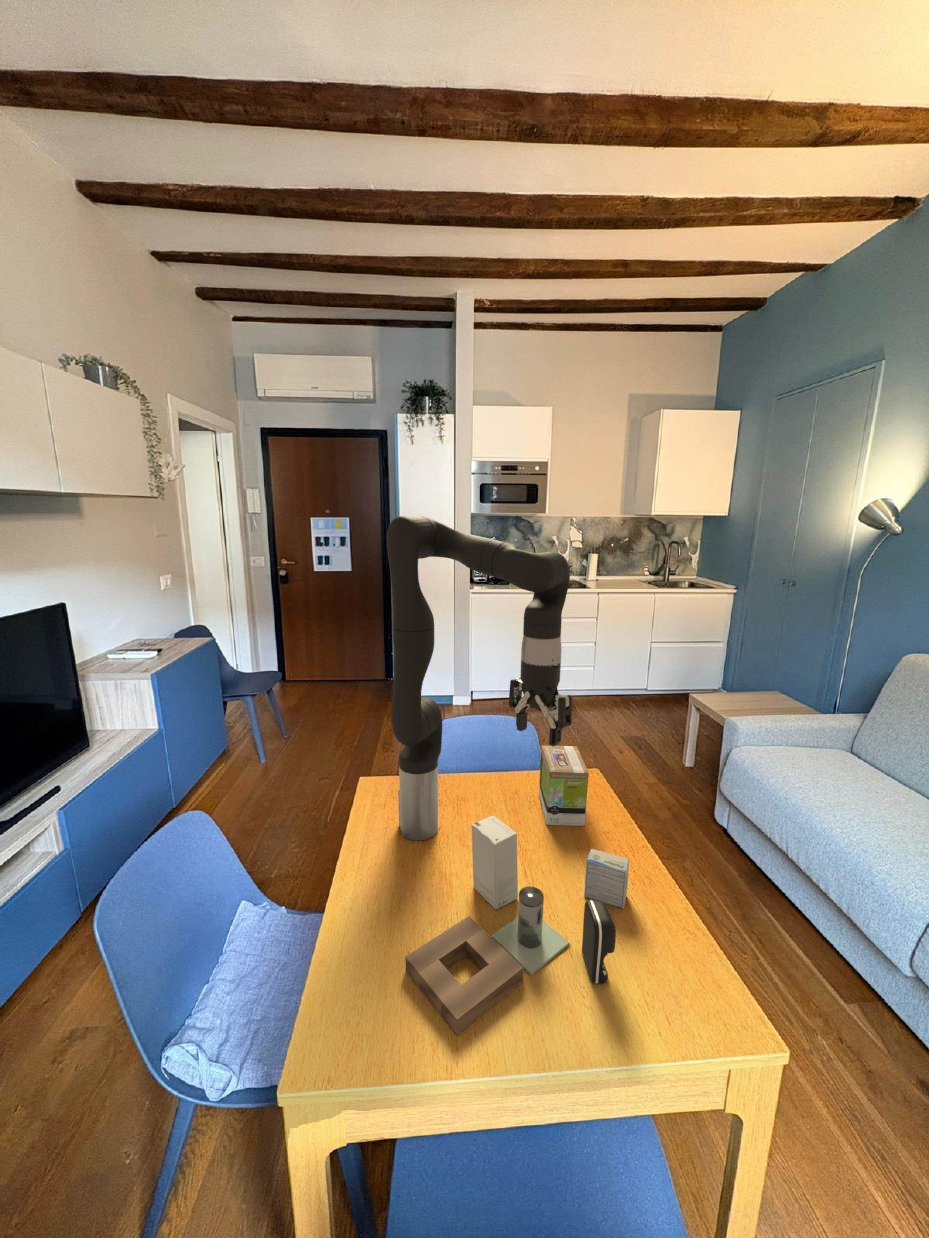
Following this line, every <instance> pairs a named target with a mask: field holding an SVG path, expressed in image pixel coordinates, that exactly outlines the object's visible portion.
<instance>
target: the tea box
mask: <svg viewBox="0 0 929 1238" xmlns="http://www.w3.org/2000/svg"><path fill="white" fill-rule="evenodd" d="M538 787H539V788H538V794H539V798H540V802H541V807H542V811H543V815H544V816H543V817H544V820H545V823H546V825H547V826H565V827H566V826H569V827H570V826H571V827H573V826H575V827H578V826H580V827H584V826H585V824H586V812H587V811H586V810H587V799H588V787H589V770H588V768H587V766H586V764H585V761H584V760H583V757H582V755H581V753H580V750H579V748H578V746H575V745H574V746H573V745H556V746H550V745H541V751H540V769H539V785H538Z"/></svg>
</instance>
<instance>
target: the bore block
mask: <svg viewBox="0 0 929 1238" xmlns="http://www.w3.org/2000/svg"><path fill="white" fill-rule="evenodd" d="M404 957H405V958H404V959H405V960H404V961H405V962H404V963H405V973H406V974H407V975H408V976H409V978H411V980H412V981H413V983H414V984H415V985H416V986H417V988H418V989H419V991H421V993H422V994H423V996H424V997H425V998H426V999H427V1000H428V1002H429V1003H430V1004H431V1006H432V1007H433V1008H434V1009H435V1010H436V1012H437V1013H438V1015H440V1016H441V1019H442V1020H444V1022H445V1023H446V1025H448V1026H449V1028H450V1029H451V1031H453V1033H454V1035H456V1037H458V1036H459V1035H460V1034H461V1033H462V1032H464V1031H465V1030H466V1029H468V1028H469V1027H470V1026H471V1025H473V1024H474V1023H475V1022H477V1021H478V1019H480V1018H481V1017H482V1016H484V1015H485V1014H486V1013H487V1012H488V1011H489V1010H491V1009H492V1008H493V1007H494V1006H496V1005H498V1003H499V1002H501V1001H502V1000H503V999H504V998H505V997H507V996H509V995H510V994H511V993H512V992H513V991H514V990H515V989H517V988H518V987H519V986H521V985H522V984H523V983H524V968H523V967H522V966H521V965H520V964H519V963H518V962H517V961H516V960H515V959H514V958H513V957H512V956H511V955H510V954H509V953H508V952H507V951H506V950H505V949H504V948H502V947H501V946H500V945H499V944H498V943H497V942H496V941H495V940H494V939H493V938H492V937H491V934H489V933H488V932H487V931H486V930H485V929H484V928H482V927H481V926H480V924H478V923H477V922H476V920H474V919H473V918H472V917H471V916H470V915H468V916H466V917H465V918H463V919H462V920H460V921H458V922H457V923H456V924H454V925H452V926H451V927H449V928H448V929H446V930H444V931H443V932H441V933H439V934H438V935H437V936H434V938H432V939H431V940H429V941H427V942H425V943H424V944H423V945H421V946H420V947H418V948H416V949H415V950H413V951H412V952H410V953H409V954H407V955H405V956H404ZM464 957H466V958H468V959H469V960H470V961H471V962H472V963H473V964H474V965H475V966H476V967H477V969H478V970H479V971H478V972H477V973H475V974H474V975H472V976H471V977H470V978H468V979H467V980H466V981H464V982H463V983H460V982H459V981H458V979H457V978H456V977H454V975H453V974H452V973H451V972H450V971H449V968H451V966H453V965H454V964H456V963H457V962H459V961H460V960H461V959H463V958H464Z"/></svg>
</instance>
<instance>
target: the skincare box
mask: <svg viewBox="0 0 929 1238" xmlns="http://www.w3.org/2000/svg"><path fill="white" fill-rule="evenodd" d="M517 836H518V833H517V832H516V831H515V830H513V829H511V828H510V826H508V825H507V824H506V823H504V822H503V821H502V820H500V819H499V818H498V817H496V816H495V815H490V816H488V817H485V818H483V819H481V820H479V821H477V822H474V823H472V824H471V842H472V843H471V845H472V878H473V879H472V881H473V883H472V884H473V886H472V887H473V888H474V889H475V890H476V891H477V892H478V893H479V894H480V895H481V896H482V897H483V898H484V899H485V900H486V901H487V903H489V904H490V905H491V906H492V907H493V909H494V910H499V909H500V908H502V907H504V906H506V905H508V904H511V903H512V902H514V901H516V900H518V899H519V885H518V882H519V881H518V837H517Z"/></svg>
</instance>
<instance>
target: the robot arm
mask: <svg viewBox="0 0 929 1238" xmlns="http://www.w3.org/2000/svg"><path fill="white" fill-rule="evenodd" d="M386 533H387V534H386V550H387V557H388V558H387V559H388V565H389V575H390V583H391V584H390V585H391V597H392V599H391V601H392V604H391V605H392V643H393V644H392V645H393V646H392V647H393V691H392V692H393V693H392V701H391V703H392V704H391V715H390V717H391V718H390V719H391V721H390V722H391V729H392V732H393V735H394V737H395V739H396V741H398V743H400V744H401V745H403V748H402V750H401V752H400V753H399V756H398V768H399V769H398V773H399V775H398V777H399V778H398V779H399V789H398V791H397V793H398V794H397V795H398V796H397V797H398V798H397V800H398V804H397V805H398V806H397V807H398V825H399V828H400V829H399V830H400V833H401V835H402V836H403V837H404V838H406V839H408V840H410V841H417V842H419V841H425V840H428V839H431V838H432V837H434V836H435V835H436V834H437V833H438V831H439V830H438V829H439V757H440V756H441V753H442V744H443V743H442V740H443V716H442V711H441V709H440V707H439V705H438V704H437V702H436V701H435V700H434V699H432V698H431V697H427V696H422V688H423V682H424V680H425V677H426V675H427V671H428V668H429V666H430V663H431V660H432V658H433V654H434V650H435V617H434V614H433V612H432V610H431V607H430V605H429V603H428V601H427V599H426V598H425V595H424V593H423V591H422V589H421V585H420V580H419V559H421V560H422V559H426V558H430V557H431V558H445V559H449V560H454V561H456V562H459V564H462V565H463V566H465V567H466V568H467V569H470V570H471V571H475V572H477V573H480V574H482V575H486V576H489V577H493V578H496V579H500V580H504V581H505V582H507V583H509V584H511V585H513V586H515V587H517V588H519V589H521V590H524V591H528V592H532V593H533V597H532V600H531V602H529V603H528V605H527V606H526V607H525V609H524V613H523V629H522V630H523V631H522V641H521V650H520V651H521V652H520V653H521V654H520V655H521V656H520V675H519V676H520V677H516V678H514V679H510V681H509V682H510V683H509V695H508V706H509V708H513V709H514V712H515V713H516V715H515V716H516V717H515V725H516V731H519V732H522V731H526V729H527V728H528V714H529V713H528V711H527V710H528V709H529V708H531V709H536V710H537V711H539V712H541V713H542V715H543V716H544V718H545V719H547V721H548V723H549V726H550V727H549V737H548V738H549V739H548V746H559V744H560V743H561V742H562V730H563V729H565V728H567V727H571V726H572V724H573V723H572V722H573V719H572V714H573V713H572V712H573V708H572V703H573V700H572V699H573V697H572V696H571V694H566V695H563V694H560V693H559V690H558V687H559V683H560V682H561V669H562V668H561V665H562V638H561V637H562V616H563V615H562V613H563V609H564V606H565V604H566V603H565V602H566V598H567V594H568V590H569V586H570V578H571V574H570V573H571V572H570V565H569V562H568V560H567V558H566V557H565V556H564V555H563V554H561V553H559V552H557V551H545V552H538V553H537V552H530V551H526V550H522V549H521V548H519V547H518V546H517V545H515V544H512V543H509V542H505V541H502V540H497V539H493V538H489V537H483V536H481V535H480V536H479V535H474V534H470V533H466V532H463V531H460V530H457V529H456V528H453V527H450V526H448V525H446V524H444V523H442V522H440V521H437V520H435V519H433V518H430V517H428V516H426V515H401V516H400V515H399V516H396V517H395V518H393V519H392V520H391V522H390V523H389V525H388V528H387V531H386ZM550 709H552V710H551V711H550Z"/></svg>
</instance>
